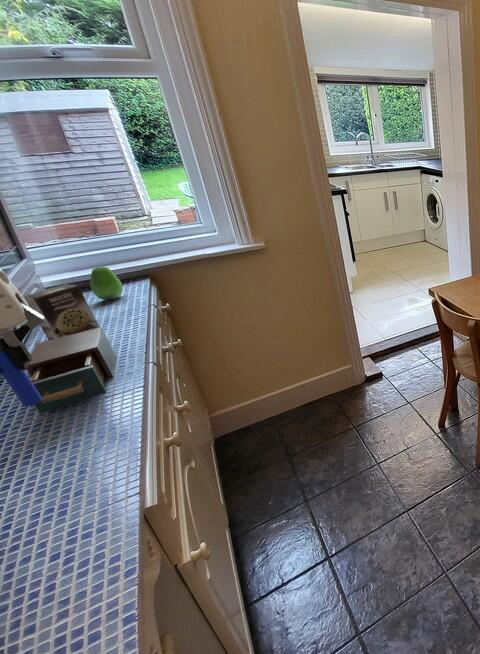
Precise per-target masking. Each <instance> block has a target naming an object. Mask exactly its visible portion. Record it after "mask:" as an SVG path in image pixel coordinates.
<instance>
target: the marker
mask: <svg viewBox="0 0 480 654" xmlns="http://www.w3.org/2000/svg"><path fill="white" fill-rule="evenodd" d="M7 348H8V346H7V342H6V341H5V340H4V338H3V337H2V335H0V372H1V373H0V375H2V377H3V378H4V381H6V383H7V384H8V385H9V387H10V389H11V390H12V391H13V393H14V394H15V396H16V397H17V399H18V400H19V402H20V403H21V404H22V406H23V407H26V408H28V407H31V406H35V404H37V403H39V402H41V401H42V400H43V399H42V397H41V396H40V394H39V393H38V391H37V390H36V388H35V386H34V385H33V383H32V382H31V379H30V377H29V376H28V374H27V372H26V371H25V370H19V369H18V367H17V366H16V364H15V363H14V361H13V360H12V358H11V357H10V355H9V354H8V352H7Z"/></svg>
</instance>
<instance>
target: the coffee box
mask: <svg viewBox="0 0 480 654" xmlns="http://www.w3.org/2000/svg"><path fill="white" fill-rule="evenodd" d="M22 296H23V298H24V299H25V301H26V302H27V304H28V305H29V307H30V308H31V309H33V310H34V311H36V312H37V313H39V314H41V315H42V316H44V317H45V320H44V322H43V323H42V324H40V325H39V326H40V329H42V331H43V333H44V335H45V337H46V338H47V341H48V340H52V339H56V338H60V337H64V336H68V335H72V334H76V333H80V332H84V331H88V330H92V329H96V328H100V327H101V326H100V325H99V323H98V321H97V319H96V316H95V315H94V312H93V311H92V309H91V306H90V305H89V303H88V301H87V300H86V298H85V296H84V294H83V292H82V290H81V288H80V286H79V285H76V284H67V283H65V284H61V285H57V286H55V287H51V288H48V289H43V290H40V291H37V292H33V293H30V294H26V295H22Z"/></svg>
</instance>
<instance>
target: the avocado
mask: <svg viewBox="0 0 480 654" xmlns="http://www.w3.org/2000/svg"><path fill="white" fill-rule="evenodd" d="M89 284H90V285H89V287H90V289H91V291H92V293H93V295H94V296H95V297H97V298H98V299H100V300H103V301H111V300H112V301H113V300H115V299H118V298H119V297H120V296H121V295H122V293H123V283H122V281H121V280H120V279H119V277H118V276H117V275H116V274H115V273H114V272H113V271H112V270H111V268H109V267H107V266H96V267H94V268H93V269H92V270H91V273H90V280H89Z"/></svg>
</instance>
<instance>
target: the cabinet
mask: <svg viewBox="0 0 480 654" xmlns="http://www.w3.org/2000/svg"><path fill="white" fill-rule="evenodd" d="M92 351H94V352H95V354H96V355H97V357H98V359H99V361H100V363H101V364H102V366H103V368H104V370H105V374H104V380H105V381H107V380H106V379H108V380H110V379H109V378H111V379H114V378H115V372H114V371H115V370H116V362H117V361H116V360H117V354H116V352H115V351H114V348H113V346H112V345H111V343H110V341H109V339H108V337H107V335H106V333H105V332H104V330H103V328H102V327H101V326H100V328H96V329H92V330H88V331H84V332H80V333H76V334H72V335H68V336H64V337H60V338H56V339H52V340H48V339H47V340H45V341H40V342H37V343H35V345H34V347H33V350H32V351H31V353H30V355H31V356H32V361H30V364H29V366H28V368H27V369H26V371H27V372H28V374H29V375H30V377H31V378H32V377H33V375H34V372H35V370H36V368H37V366H41V365H45V364H48V363H52V362H56V361H59V360H63V359H67V358H70V357H74V356H78V355H81V354H85V353H89V352H92ZM113 377H114V378H113Z"/></svg>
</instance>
